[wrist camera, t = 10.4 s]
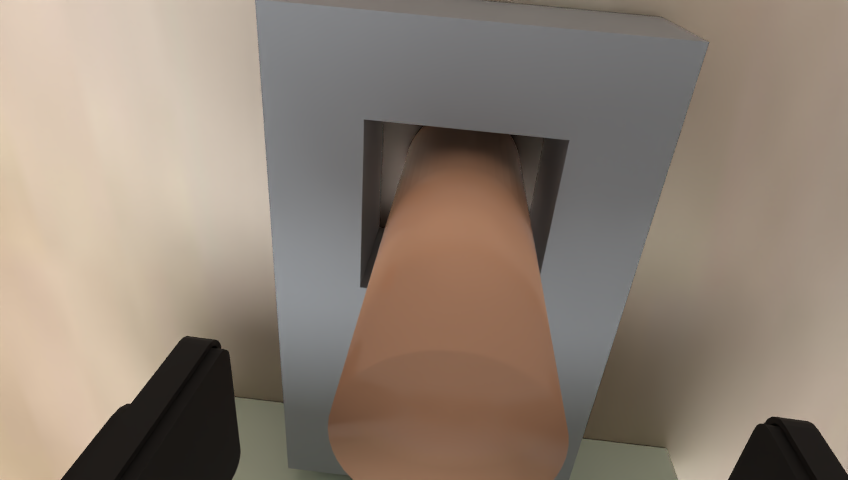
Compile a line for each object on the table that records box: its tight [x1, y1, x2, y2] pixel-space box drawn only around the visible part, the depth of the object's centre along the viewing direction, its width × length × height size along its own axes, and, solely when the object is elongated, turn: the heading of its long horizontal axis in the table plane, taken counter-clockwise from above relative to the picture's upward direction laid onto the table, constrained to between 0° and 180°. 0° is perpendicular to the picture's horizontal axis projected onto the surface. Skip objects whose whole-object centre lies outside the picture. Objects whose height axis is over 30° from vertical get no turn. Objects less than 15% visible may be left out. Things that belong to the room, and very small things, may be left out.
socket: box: [255, 0, 709, 480], centre depth 20 cm, size 11×18×4 cm, turn 176°
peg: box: [328, 126, 569, 480], centre depth 14 cm, size 4×4×12 cm
